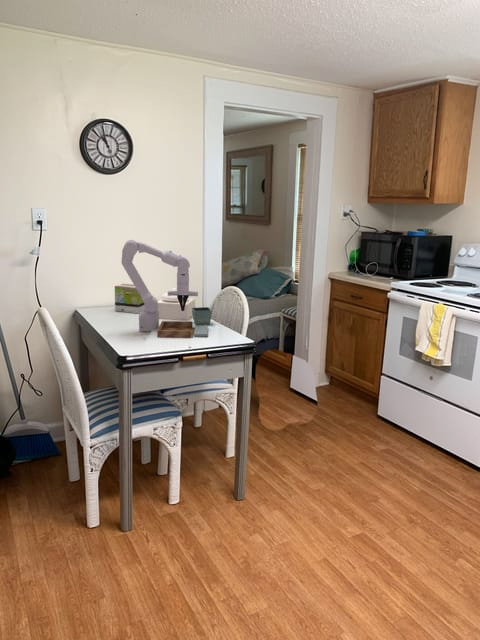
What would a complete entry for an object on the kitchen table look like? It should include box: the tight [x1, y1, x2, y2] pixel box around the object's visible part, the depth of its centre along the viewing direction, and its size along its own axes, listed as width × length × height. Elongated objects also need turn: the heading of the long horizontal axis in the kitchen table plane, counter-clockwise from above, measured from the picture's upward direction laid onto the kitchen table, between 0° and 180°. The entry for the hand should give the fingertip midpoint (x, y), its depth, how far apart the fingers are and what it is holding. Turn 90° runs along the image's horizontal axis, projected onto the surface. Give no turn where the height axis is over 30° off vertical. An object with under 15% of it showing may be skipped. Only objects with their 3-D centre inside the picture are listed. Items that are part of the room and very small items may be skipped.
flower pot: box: [192, 306, 213, 326], centre depth 254 cm, size 9×9×9 cm
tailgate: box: [193, 325, 209, 338], centre depth 236 cm, size 2×17×6 cm
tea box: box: [114, 283, 145, 314], centre depth 286 cm, size 15×10×15 cm, turn 73°
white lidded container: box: [157, 287, 196, 321], centre depth 275 cm, size 18×18×16 cm
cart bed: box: [156, 320, 195, 339], centre depth 235 cm, size 16×20×4 cm
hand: (182, 310), depth 245 cm, fingers closed
